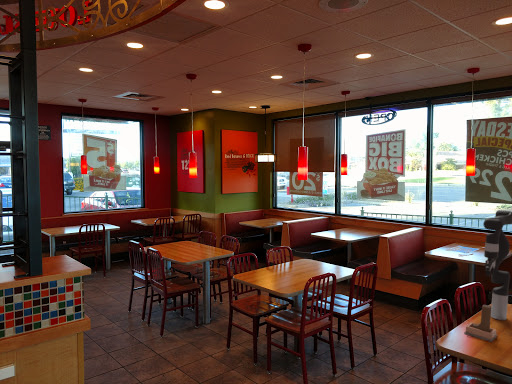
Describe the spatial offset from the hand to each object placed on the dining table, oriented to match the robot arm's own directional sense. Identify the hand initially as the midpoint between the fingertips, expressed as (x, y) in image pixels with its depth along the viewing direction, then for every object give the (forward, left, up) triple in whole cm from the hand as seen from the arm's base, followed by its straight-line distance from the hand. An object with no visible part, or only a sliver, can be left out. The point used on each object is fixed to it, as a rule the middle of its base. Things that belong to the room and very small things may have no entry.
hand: (489, 275), depth 245 cm
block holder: (+11, 0, -36) cm, 38 cm away
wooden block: (+11, 0, -35) cm, 37 cm away
